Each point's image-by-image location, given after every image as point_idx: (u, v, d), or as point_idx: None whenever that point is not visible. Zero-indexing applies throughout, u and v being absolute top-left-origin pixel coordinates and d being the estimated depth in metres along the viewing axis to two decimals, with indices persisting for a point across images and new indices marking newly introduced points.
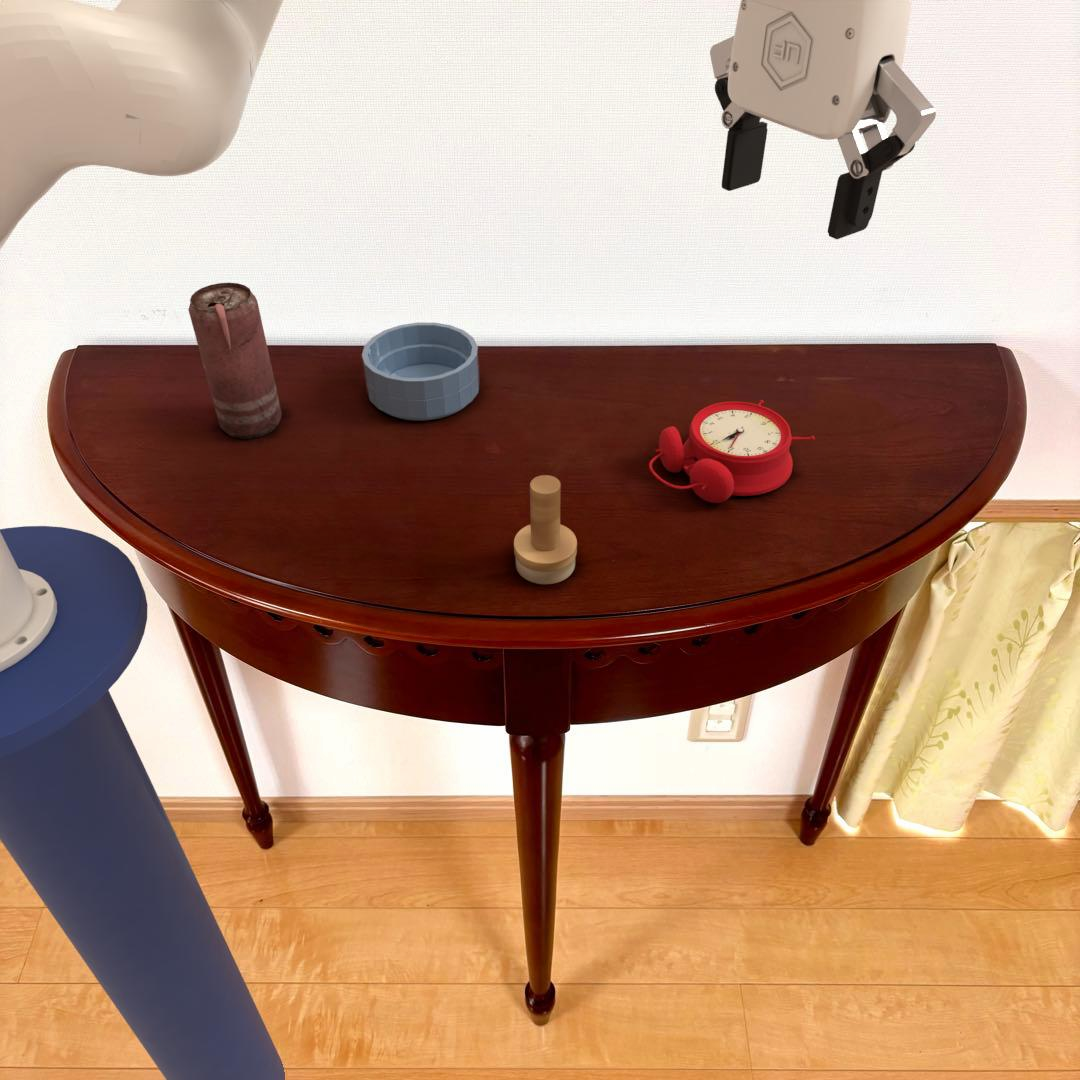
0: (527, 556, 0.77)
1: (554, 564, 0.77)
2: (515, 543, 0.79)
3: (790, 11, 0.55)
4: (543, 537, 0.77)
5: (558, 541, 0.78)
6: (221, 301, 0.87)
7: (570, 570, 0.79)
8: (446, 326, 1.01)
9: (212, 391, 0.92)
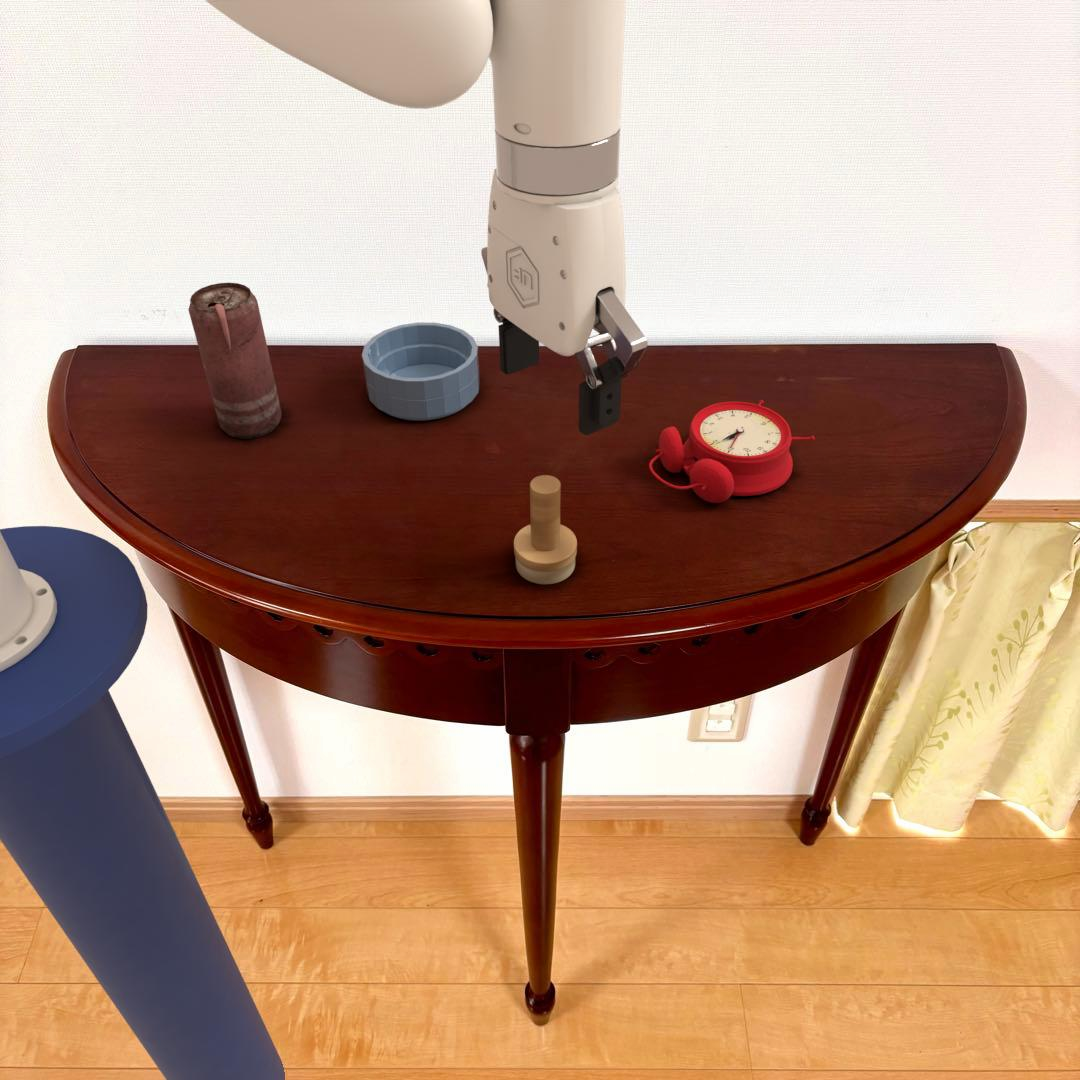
0: (527, 556, 0.77)
1: (554, 564, 0.77)
2: (515, 543, 0.79)
3: (520, 245, 0.61)
4: (543, 537, 0.77)
5: (558, 541, 0.78)
6: (221, 301, 0.87)
7: (570, 570, 0.79)
8: (446, 326, 1.01)
9: (212, 391, 0.92)
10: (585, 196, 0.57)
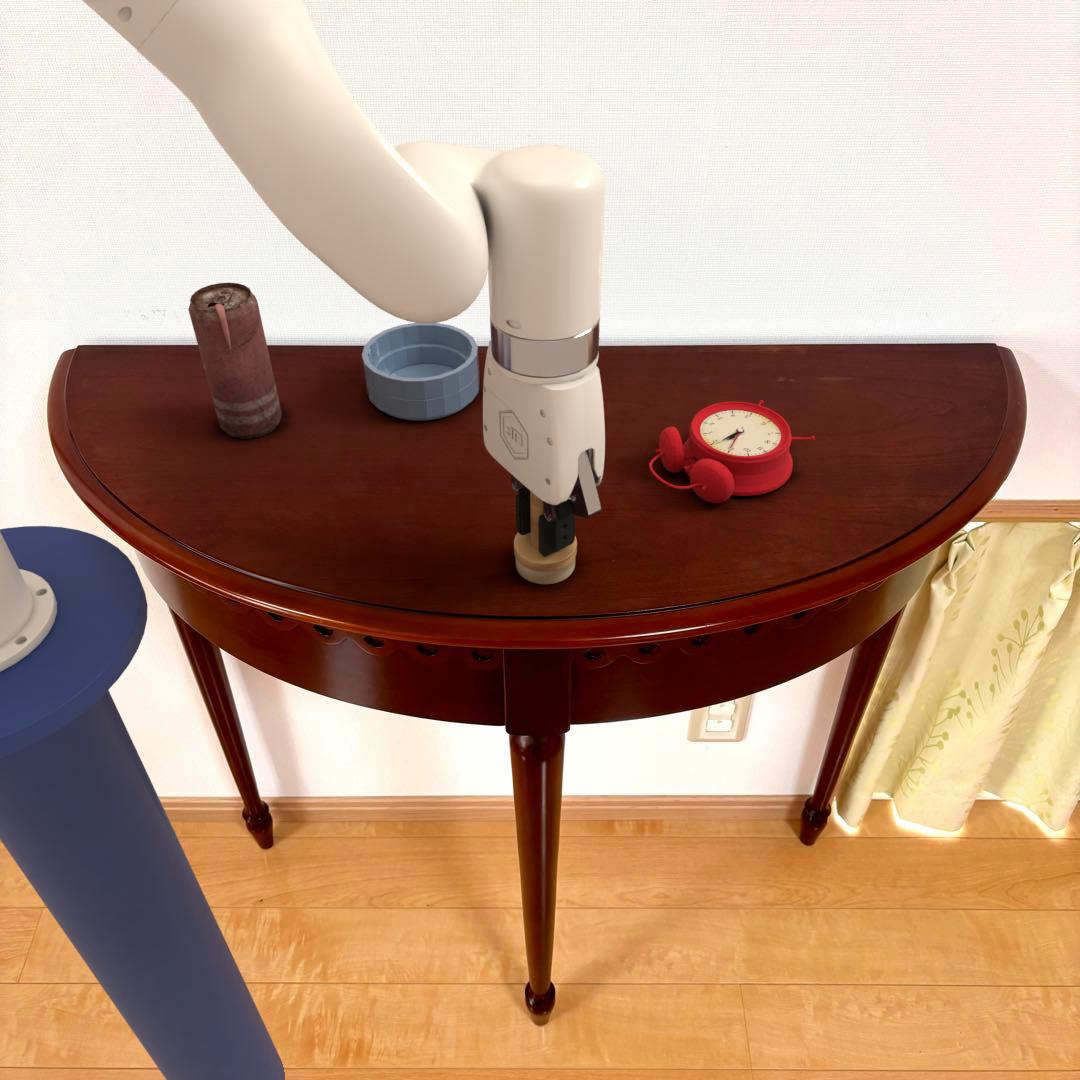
0: (527, 556, 0.77)
1: (554, 564, 0.77)
2: (515, 543, 0.79)
3: (511, 409, 0.68)
4: None
5: None
6: (221, 301, 0.87)
7: (570, 570, 0.79)
8: (446, 326, 1.01)
9: (212, 391, 0.92)
10: (569, 377, 0.65)
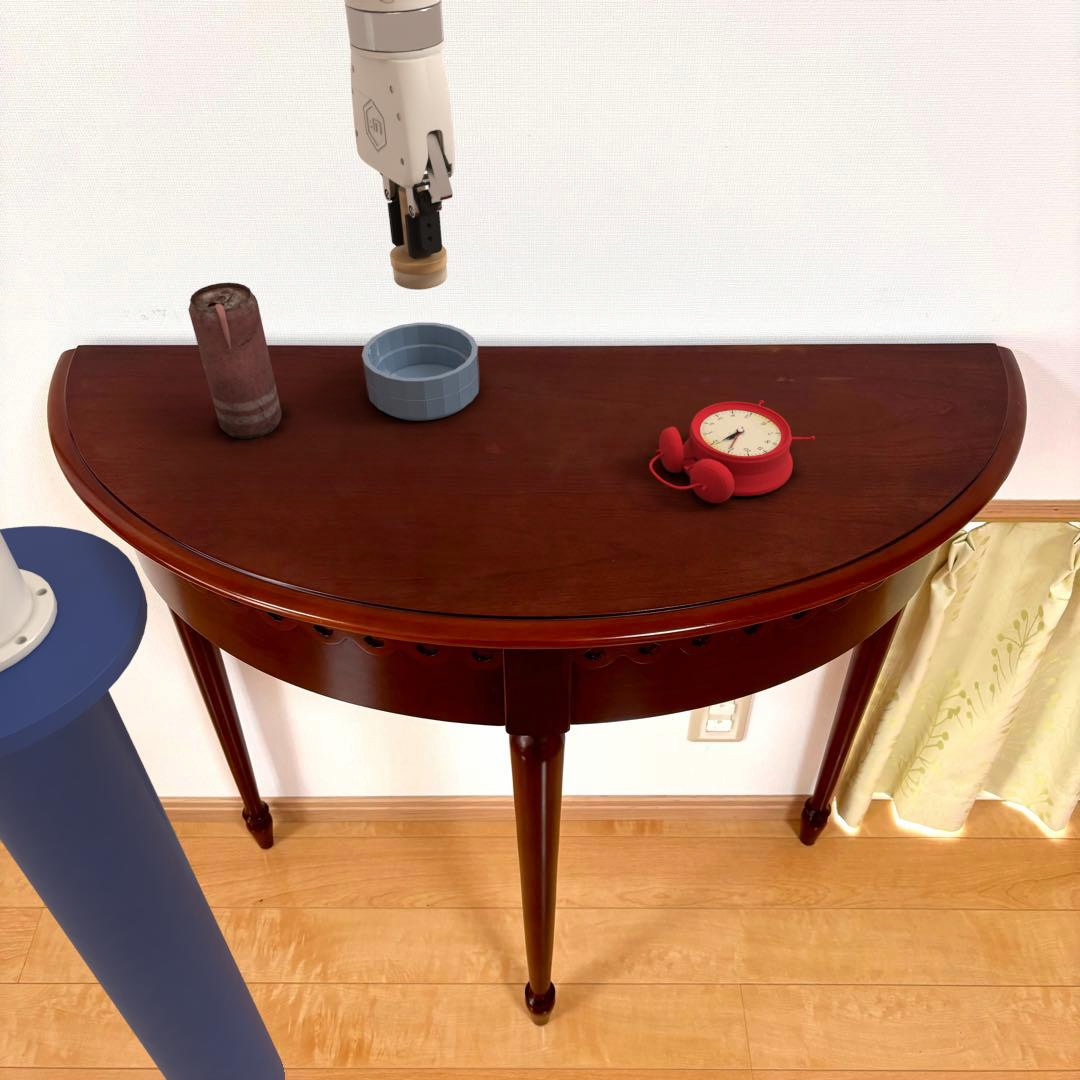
0: (400, 260, 0.87)
1: (423, 266, 0.87)
2: (391, 253, 0.88)
3: (370, 98, 0.78)
4: None
5: None
6: (221, 301, 0.87)
7: (440, 278, 0.89)
8: (446, 326, 1.01)
9: (212, 391, 0.92)
10: (412, 53, 0.74)
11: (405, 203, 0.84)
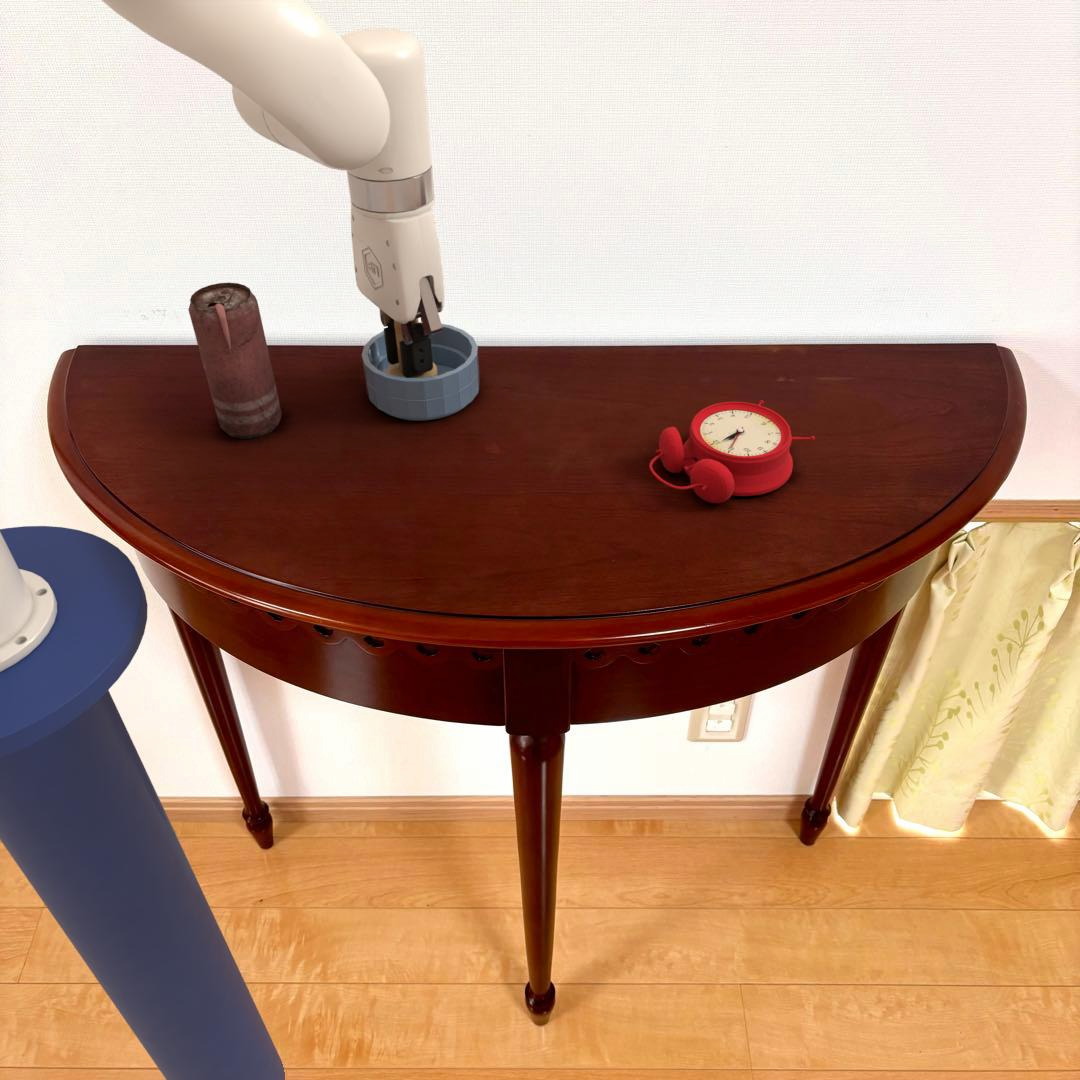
0: None
1: None
2: (387, 370, 0.98)
3: (369, 246, 0.88)
4: None
5: None
6: (221, 301, 0.87)
7: None
8: (446, 326, 1.01)
9: (212, 391, 0.92)
10: (406, 213, 0.84)
11: (400, 331, 0.94)
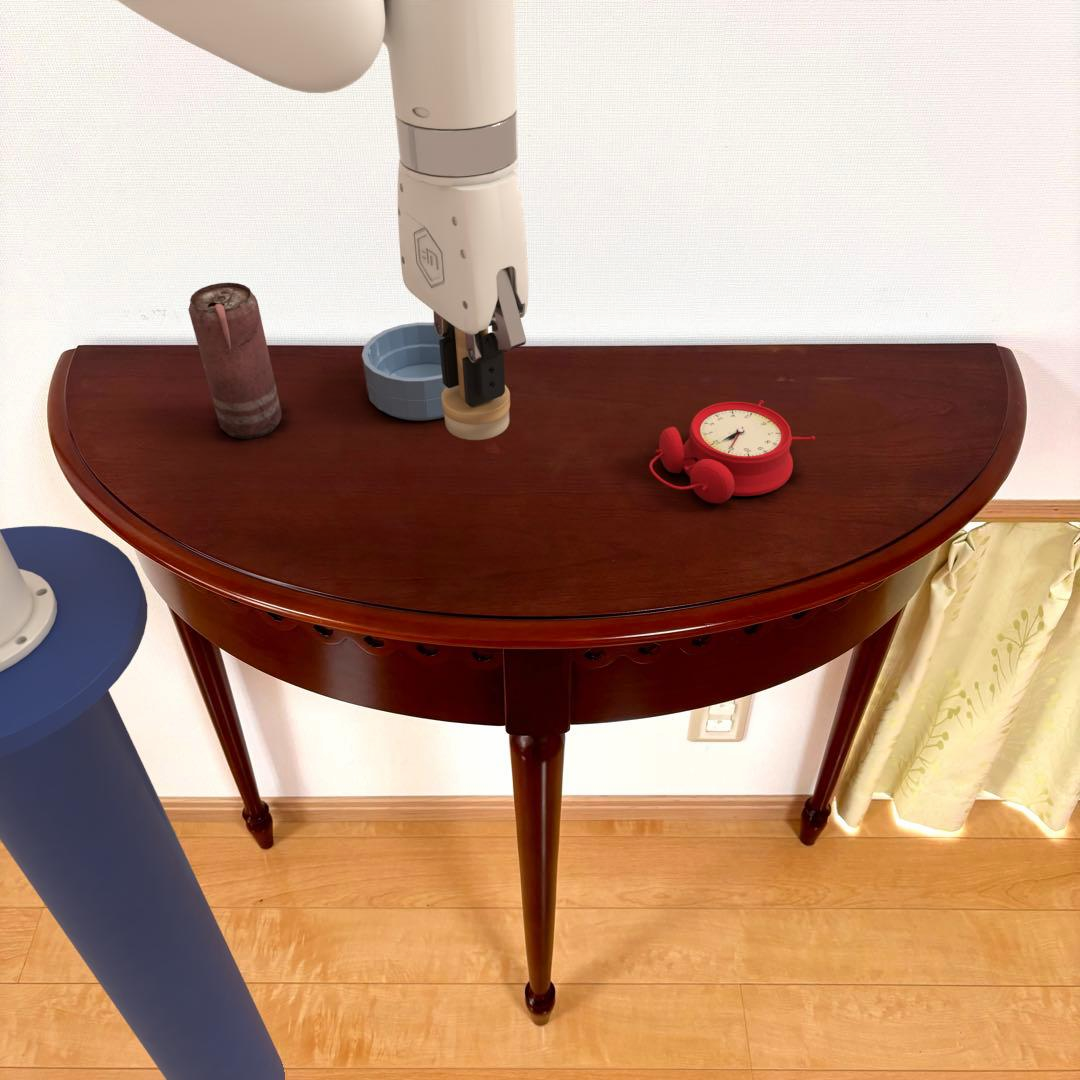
0: (454, 407, 0.71)
1: (483, 415, 0.71)
2: (443, 396, 0.73)
3: (424, 226, 0.62)
4: None
5: None
6: (221, 301, 0.87)
7: (503, 425, 0.73)
8: None
9: (212, 391, 0.92)
10: (482, 178, 0.59)
11: (463, 343, 0.69)
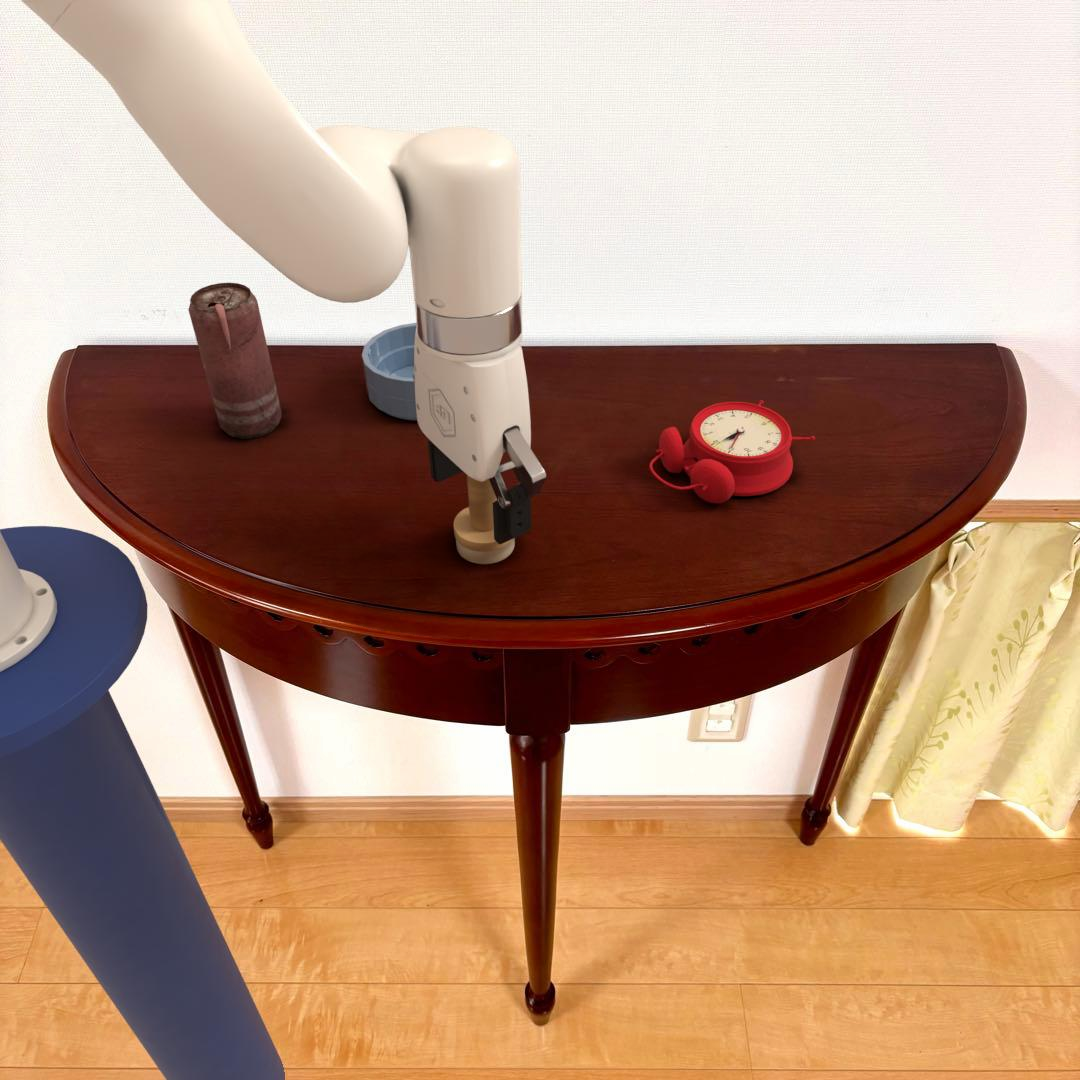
0: (465, 536, 0.79)
1: (492, 544, 0.79)
2: (455, 524, 0.80)
3: (438, 387, 0.70)
4: (481, 517, 0.79)
5: None
6: (221, 301, 0.87)
7: (509, 550, 0.81)
8: None
9: (212, 391, 0.92)
10: (490, 354, 0.66)
11: (474, 483, 0.77)
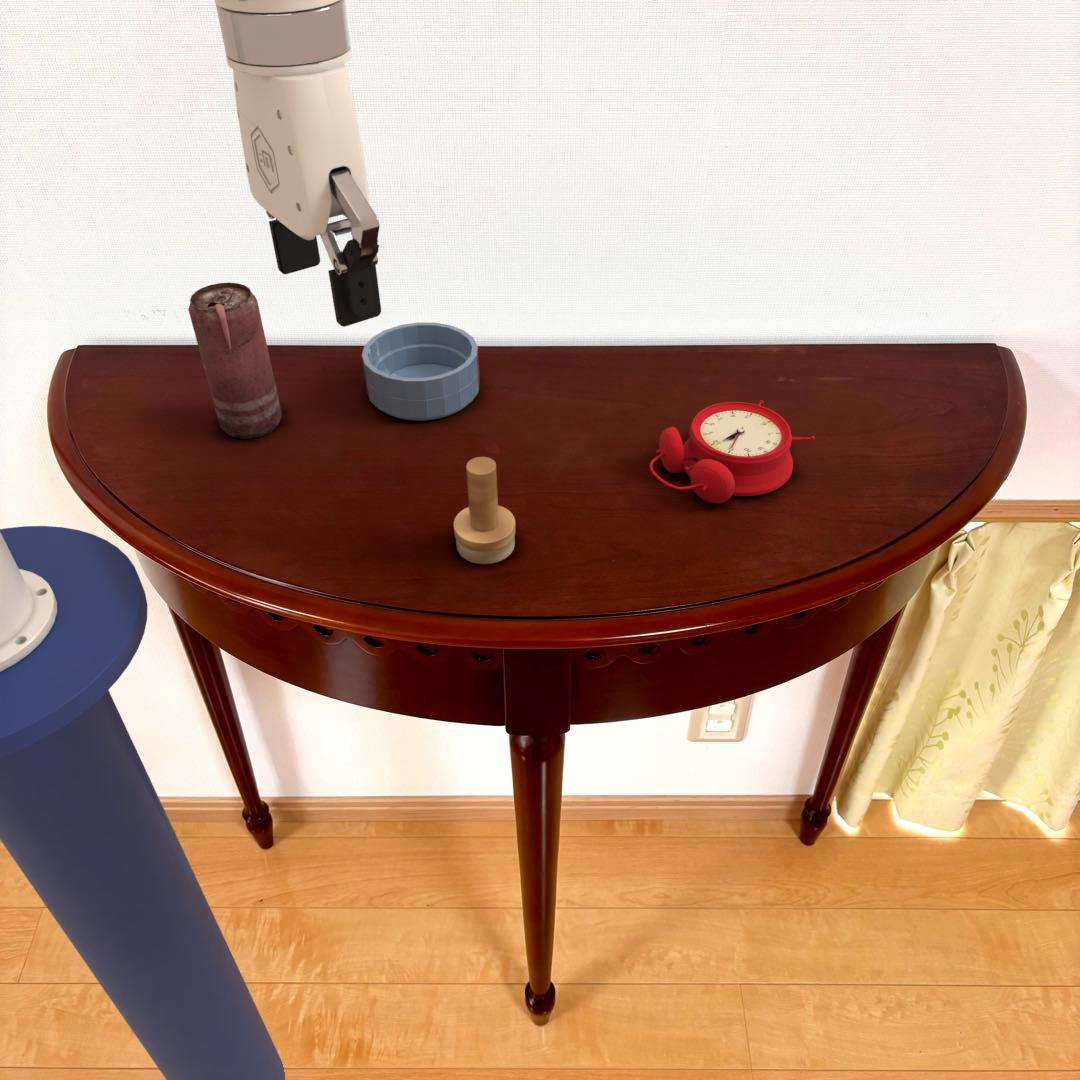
0: (465, 536, 0.79)
1: (492, 544, 0.79)
2: (455, 524, 0.80)
3: (257, 125, 0.60)
4: (481, 517, 0.79)
5: (496, 521, 0.80)
6: (221, 301, 0.87)
7: (509, 550, 0.81)
8: (446, 326, 1.01)
9: (212, 391, 0.92)
10: (305, 68, 0.56)
11: (474, 483, 0.77)
